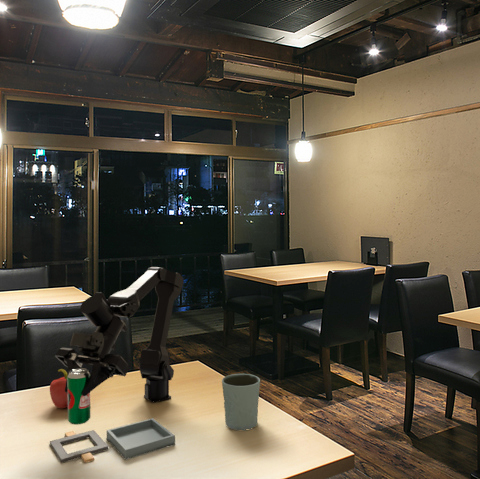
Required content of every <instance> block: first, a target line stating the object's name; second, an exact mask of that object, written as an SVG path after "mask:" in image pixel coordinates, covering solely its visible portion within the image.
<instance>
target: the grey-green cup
mask: <svg viewBox="0 0 480 479" xmlns="http://www.w3.org/2000/svg"><path fill="white" fill-rule="evenodd" d="M221 385H222V392H223V393H222V396H223V405H224V406H223V408H224V416H225V417H224V419H225V420H224V421H225V426H226V425H227V426H228V427H229V428H228V427H227V426H226V427H227V428H228V429H230V428H231V430H233V429H235V430H234V431H239V430H244V431H247V430H246V429H250V430H252V429H251V428H253V427H255V426H256V427H257V425H258V416H259V415H258V414H259V411H258V410H259V409H258V408H259V401H260V400H259V398H260V386H261V378H260V377H258V376H256V375H254V374H250V373H234V374H230V375H226V376H224V377H223V378H222V379H221ZM256 427H255V428H256ZM253 429H254V428H253Z"/></svg>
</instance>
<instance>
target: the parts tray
mask: <svg viewBox="0 0 480 479" xmlns="http://www.w3.org/2000/svg"><path fill="white" fill-rule="evenodd" d="M106 440H107V441H108V443H110V444H111V446H112V447H114V449H115V450H116V451H117V452H118V453H119V454H120V455H121V457H122V458H123V459H124V460H130V459H132V458H136V457H139V456H142V455H145V454H149V453H152V452H154V451H155V452H156V451H159V450H161V449H162V450H163V449H166V448H168V447H171V446H175V445H176V435H175V434H174V433H173V432H171V431H170V430H169V429H168V428H166V427H165V426H163V425H162V423H160V422H159V421H157V420H156V419H155V418H153V417H152V418H149V419H144V420H141V421H136V422H134V423H133V422H132V423H129V424H125V425H121V426H117V427H113V428H109V429H106Z"/></svg>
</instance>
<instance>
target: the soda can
mask: <svg viewBox="0 0 480 479" xmlns="http://www.w3.org/2000/svg"><path fill="white" fill-rule="evenodd" d="M90 375H91V373H90V372H89V369H87V368H83V367H81V368H78V369H73V370H71V371H69V375H68V376H67V390H68V407H67V421H68V423H70V424H71V425H76V426H77V425H78V426H79V425H83V424H85V423H88V422H89V420H90V419H91V392H90V393H88V394H87V395H86V396H83V395H82V392H83V389H84V387H85V385H86V383H87V381H88V379H89V377H90Z"/></svg>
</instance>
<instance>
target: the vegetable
mask: <svg viewBox="0 0 480 479" xmlns="http://www.w3.org/2000/svg"><path fill="white" fill-rule="evenodd" d="M57 372H58V373H62V374H63V376H62V377H59V378H57V379H53V380H52V381H51V383H50V385H49V394H50V398H51V401H52V402H51V403H53V405H54V406H55V407H56V408H58V409H65V408H68V393H66V392H65V386H66V380H67V374H68V371H66V370H65V369H63V368H60V369H58V370H57Z"/></svg>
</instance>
